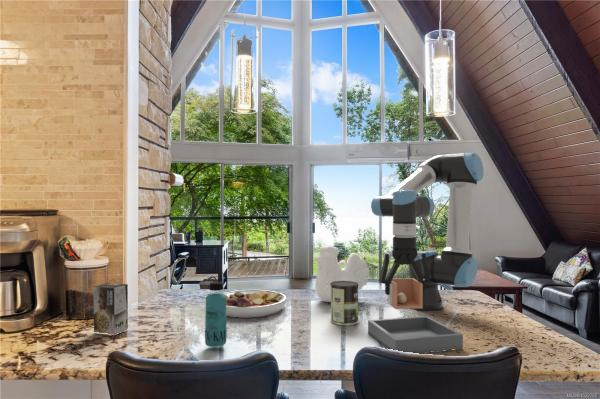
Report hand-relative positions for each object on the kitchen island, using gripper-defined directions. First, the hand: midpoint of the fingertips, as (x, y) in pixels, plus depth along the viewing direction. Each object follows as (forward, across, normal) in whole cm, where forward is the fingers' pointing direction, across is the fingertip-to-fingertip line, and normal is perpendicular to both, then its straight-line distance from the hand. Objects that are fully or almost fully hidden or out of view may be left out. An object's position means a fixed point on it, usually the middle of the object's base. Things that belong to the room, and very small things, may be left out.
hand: (404, 303), depth 135 cm
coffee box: (+10, -98, +7) cm, 99 cm away
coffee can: (+10, -18, +16) cm, 26 cm away
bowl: (+11, -54, +34) cm, 65 cm away
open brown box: (0, 0, 0) cm, 0 cm away
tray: (+10, +1, -6) cm, 12 cm away
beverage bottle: (+10, -61, -10) cm, 62 cm away
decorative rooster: (+11, -14, +44) cm, 47 cm away
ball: (-2, -1, -1) cm, 3 cm away
